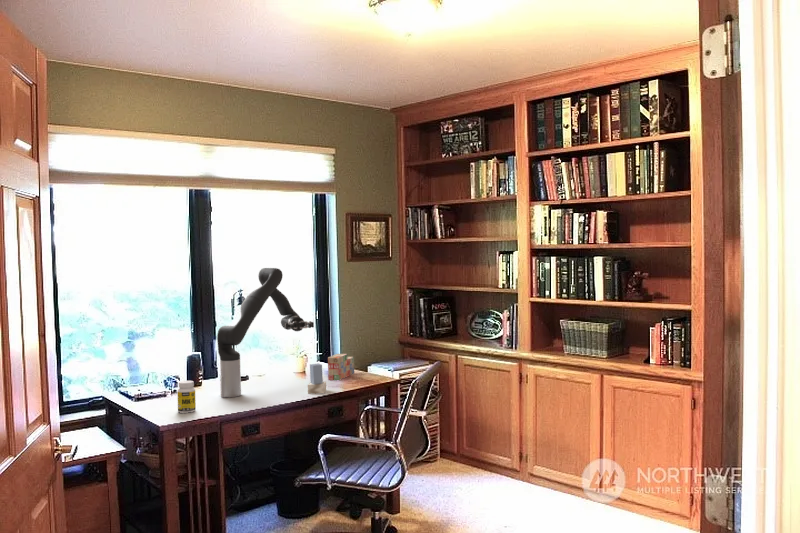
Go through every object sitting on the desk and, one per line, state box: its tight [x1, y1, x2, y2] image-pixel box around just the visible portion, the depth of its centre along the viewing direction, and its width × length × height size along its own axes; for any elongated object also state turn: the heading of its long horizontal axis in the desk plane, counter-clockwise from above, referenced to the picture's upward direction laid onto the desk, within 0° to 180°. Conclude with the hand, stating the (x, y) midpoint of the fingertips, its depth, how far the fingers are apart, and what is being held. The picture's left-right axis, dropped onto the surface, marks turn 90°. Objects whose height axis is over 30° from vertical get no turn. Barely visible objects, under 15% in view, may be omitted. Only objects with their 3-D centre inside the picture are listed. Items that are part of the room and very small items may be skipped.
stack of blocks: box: [327, 353, 355, 381], centre depth 352 cm, size 21×6×12 cm, turn 162°
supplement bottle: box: [177, 380, 196, 414], centre depth 281 cm, size 7×7×13 cm
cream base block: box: [307, 381, 327, 395], centre depth 315 cm, size 8×8×4 cm
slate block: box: [309, 363, 324, 385], centre depth 315 cm, size 4×4×9 cm
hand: (301, 326), depth 326 cm, fingers open, 8 cm apart
